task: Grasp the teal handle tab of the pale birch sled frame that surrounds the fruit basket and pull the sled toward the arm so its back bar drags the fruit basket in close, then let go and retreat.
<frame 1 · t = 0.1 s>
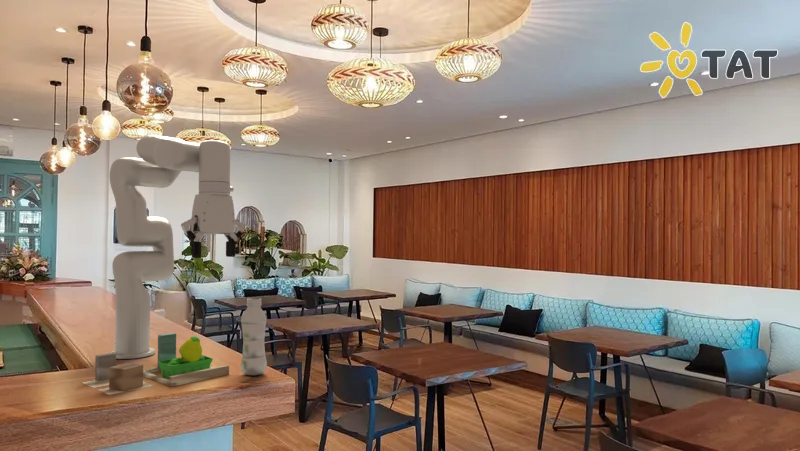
hand: (213, 257, 139), 31 cm above the worktop, tool pointing down, fingers open, 9 cm apart
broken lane: (117, 389, 130), on the worktop
sled: (182, 357, 140), point 5 cm above the worktop, slide at 0.0 cm
fruit basket: (186, 381, 139), resting in sled
walnut cube: (126, 387, 127), point 1 cm above the worktop, touching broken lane
plastic bottle: (253, 375, 144), on the worktop
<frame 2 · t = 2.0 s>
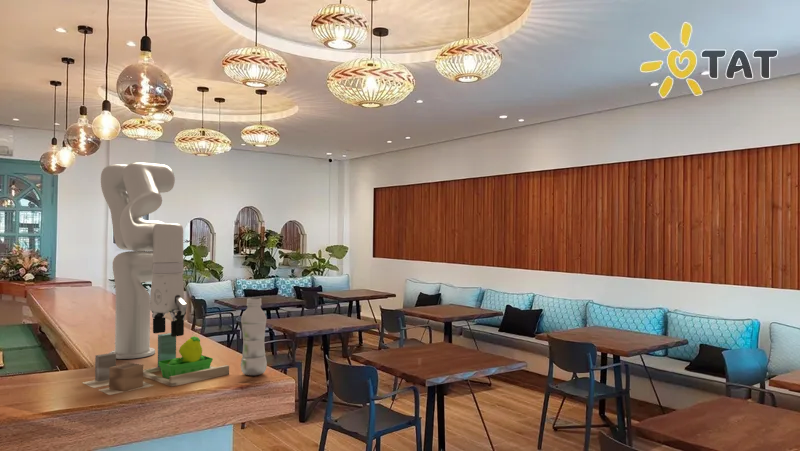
hand: (168, 334, 145), 10 cm above the worktop, tool pointing down, fingers open, 9 cm apart
nothing on the worktop moved.
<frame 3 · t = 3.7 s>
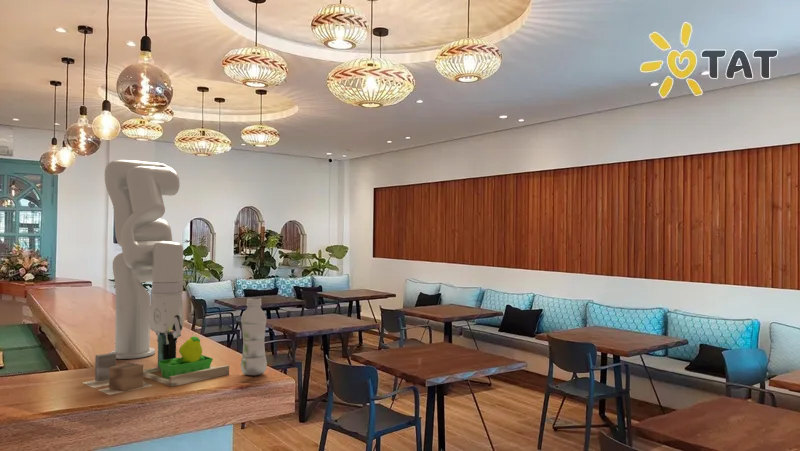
hand: (166, 357, 145), 4 cm above the worktop, tool pointing down, fingers closed on sled, 2 cm apart
sled: (182, 357, 140), point 5 cm above the worktop, slide at 0.0 cm, touching gripper
everything else where it was.
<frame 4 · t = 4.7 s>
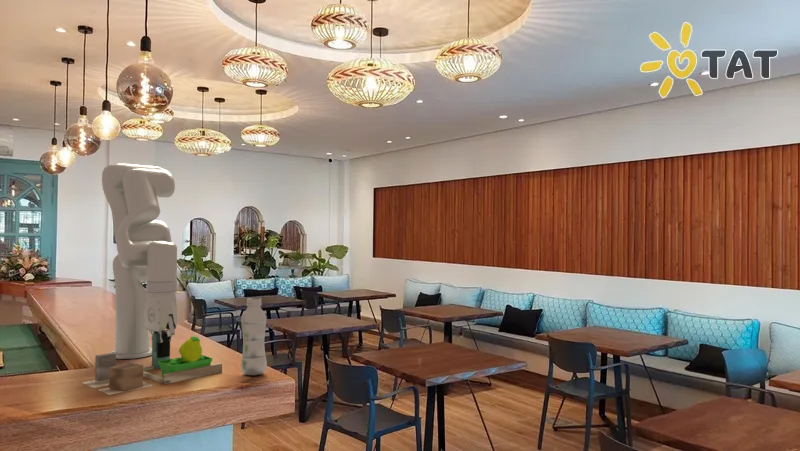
hand: (160, 355, 148), 4 cm above the worktop, tool pointing down, fingers closed on sled, 2 cm apart
sled: (176, 355, 142), point 5 cm above the worktop, slide at 3.2 cm, touching gripper
everything else where it was.
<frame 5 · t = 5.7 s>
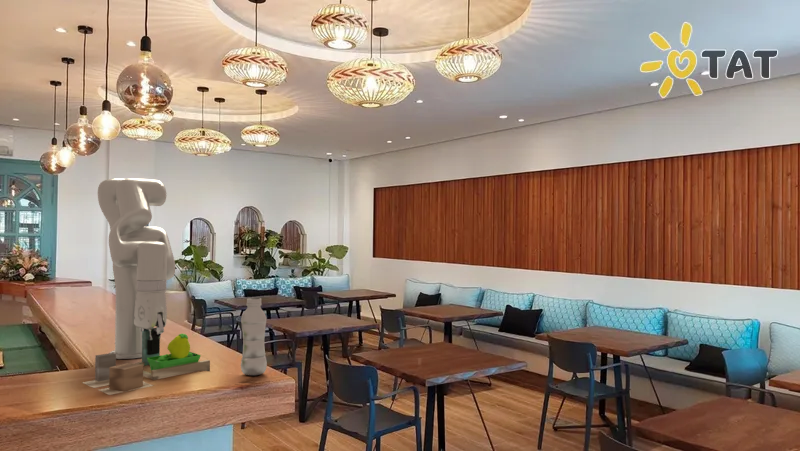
hand: (150, 352, 151), 4 cm above the worktop, tool pointing down, fingers closed on sled, 2 cm apart
sled: (165, 352, 146), point 5 cm above the worktop, slide at 9.0 cm, touching fruit basket, gripper
fruit basket: (175, 377, 142), resting in sled
everything else where it was.
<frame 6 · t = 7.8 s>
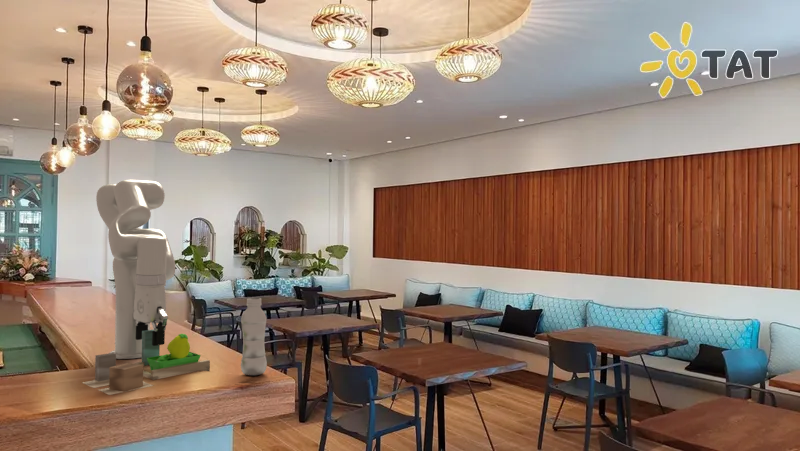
hand: (149, 342, 152), 7 cm above the worktop, tool pointing down, fingers open, 9 cm apart
sled: (165, 352, 146), point 5 cm above the worktop, slide at 9.1 cm
fruit basket: (175, 377, 143), resting in sled
everything else where it was.
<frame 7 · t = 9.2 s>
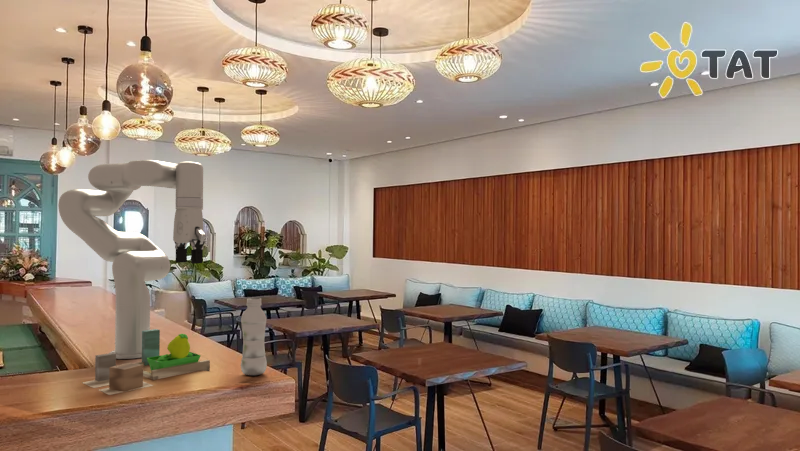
hand: (188, 262, 160), 29 cm above the worktop, tool pointing down, fingers open, 9 cm apart
nothing on the worktop moved.
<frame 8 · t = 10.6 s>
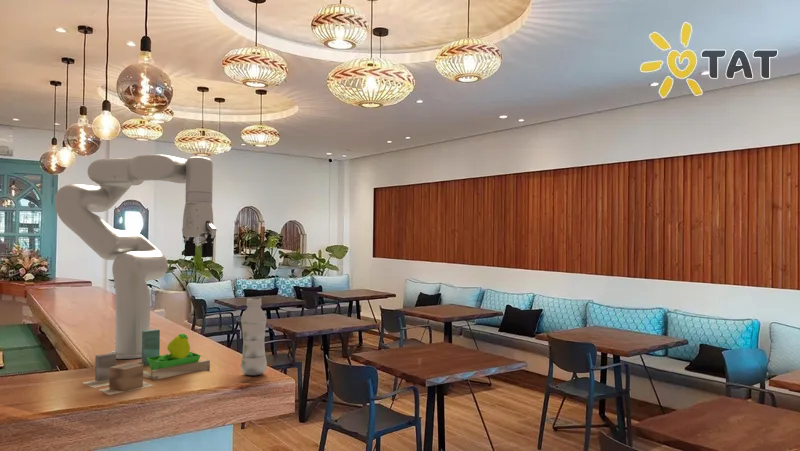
hand: (198, 256, 162), 30 cm above the worktop, tool pointing down, fingers open, 9 cm apart
nothing on the worktop moved.
at the end: sled slide at 9.1 cm; fruit basket inside the target area (2.0 cm from its centre), resting in sled; fruit basket tilted 0° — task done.
